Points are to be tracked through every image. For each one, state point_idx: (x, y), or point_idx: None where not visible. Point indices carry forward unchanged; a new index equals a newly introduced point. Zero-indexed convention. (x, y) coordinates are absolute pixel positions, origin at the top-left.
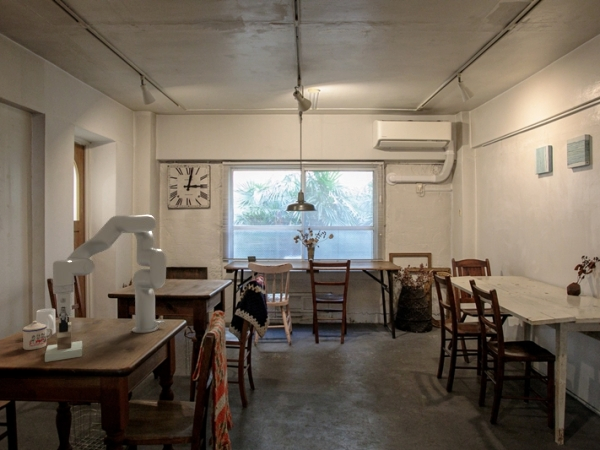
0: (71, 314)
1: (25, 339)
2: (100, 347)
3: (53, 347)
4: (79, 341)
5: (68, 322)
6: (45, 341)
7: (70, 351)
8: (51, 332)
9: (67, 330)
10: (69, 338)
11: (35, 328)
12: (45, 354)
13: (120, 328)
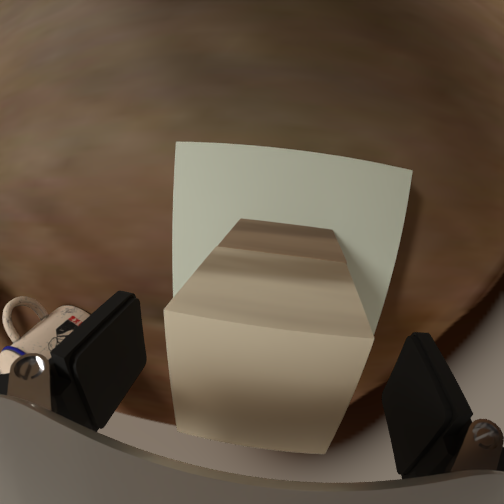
0: (398, 493)
1: None
2: (265, 42)
3: None
4: (184, 160)
5: (192, 348)
6: (73, 321)
7: (398, 241)
8: (19, 303)
9: (429, 341)
10: None
11: None
12: None
13: (11, 15)
